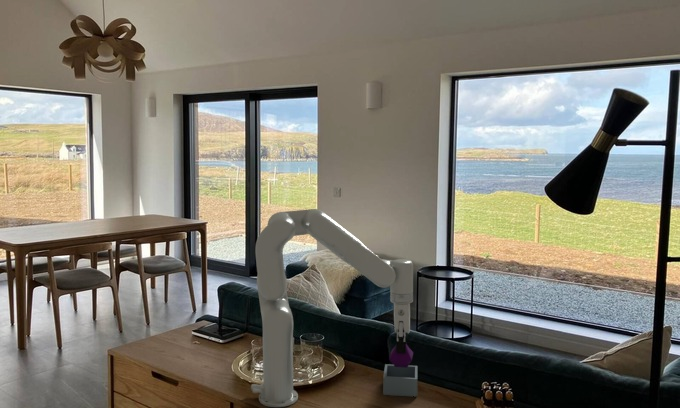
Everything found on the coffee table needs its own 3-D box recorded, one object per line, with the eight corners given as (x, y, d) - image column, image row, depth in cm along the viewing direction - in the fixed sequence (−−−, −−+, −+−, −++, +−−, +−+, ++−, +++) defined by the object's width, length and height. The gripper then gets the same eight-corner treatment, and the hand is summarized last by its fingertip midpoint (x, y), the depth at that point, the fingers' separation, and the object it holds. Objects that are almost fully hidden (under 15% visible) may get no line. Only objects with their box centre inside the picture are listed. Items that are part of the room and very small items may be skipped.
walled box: (383, 394, 185) (383, 377, 185) (385, 380, 196) (385, 364, 196) (417, 396, 184) (417, 379, 183) (417, 382, 195) (417, 365, 194)
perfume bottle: (411, 370, 185) (412, 316, 183) (388, 368, 186) (389, 315, 184) (413, 361, 192) (413, 310, 190) (391, 359, 194) (391, 308, 192)
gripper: (412, 304, 178) (412, 360, 180) (413, 290, 195) (412, 341, 196) (389, 303, 179) (388, 359, 181) (391, 290, 196) (391, 340, 197)
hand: (401, 349), depth 189 cm, fingers closed on perfume bottle, 4 cm apart
